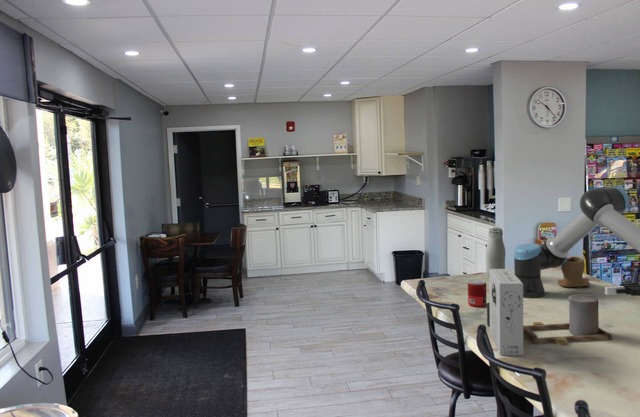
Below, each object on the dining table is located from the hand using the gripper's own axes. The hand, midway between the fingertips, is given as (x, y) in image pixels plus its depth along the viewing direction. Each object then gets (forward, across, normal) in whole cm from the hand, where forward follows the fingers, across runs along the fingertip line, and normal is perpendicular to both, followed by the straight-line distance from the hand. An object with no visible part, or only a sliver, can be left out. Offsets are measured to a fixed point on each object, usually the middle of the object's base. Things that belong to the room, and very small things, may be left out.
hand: (606, 290), depth 184 cm
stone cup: (-23, +62, -16) cm, 68 cm away
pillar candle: (+9, 0, -16) cm, 18 cm away
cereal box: (+40, -6, -16) cm, 44 cm away
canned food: (+34, +41, -16) cm, 55 cm away
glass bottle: (+9, +84, -16) cm, 86 cm away
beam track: (+17, 0, -16) cm, 23 cm away
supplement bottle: (+37, +13, -16) cm, 42 cm away
